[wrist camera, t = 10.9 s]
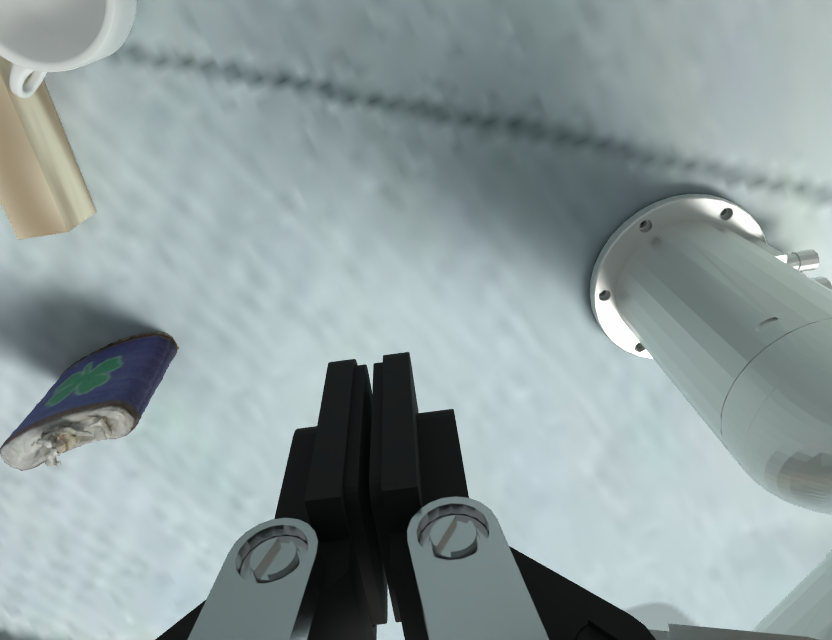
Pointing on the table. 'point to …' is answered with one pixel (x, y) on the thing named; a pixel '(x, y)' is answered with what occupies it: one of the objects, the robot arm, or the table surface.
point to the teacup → (59, 36)
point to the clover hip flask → (92, 400)
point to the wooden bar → (37, 165)
